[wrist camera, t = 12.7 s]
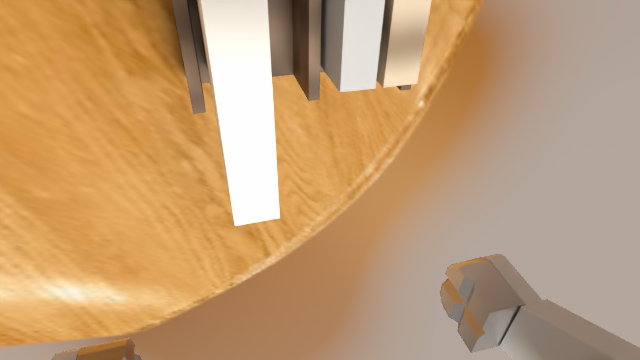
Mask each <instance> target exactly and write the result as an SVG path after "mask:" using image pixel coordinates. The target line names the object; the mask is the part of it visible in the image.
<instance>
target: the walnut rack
mask: <svg viewBox="0 0 640 360" xmlns="http://www.w3.org/2000/svg"><path fill="white" fill-rule="evenodd" d="M267 2H268V19H269V37H270V55H271V72H272V77H273V76H283V75H294V76H295V78H296V80H297V81H298V83H299V85H300V86H301V88H302V90H303V92H304V93H305V95H306V97H307V99H308V100H309V101H311V100H320V72H325V71H324V70H323V68H322V67H321V66H320V52H321V3H322V0H267ZM172 5H173V10H174V15H175V20H176V25H177V31H178V36H179V41H180V46H181V51H182V57H183V62H184V67H185V72H186V78H187V83H188V88H189V93H190V98H191V104H192V109H193V114H195V113H204V112H206V111H205V104H204V96H203V89H202V83H210V79H209V73H208V67H207V61H206V55H205V48H204V42H203V35H202V29H201V23H200V16H199V10H198V3H197V0H172ZM397 87H398V88H399V89H400V90H409V89H410V88H411V85H402V86H397Z"/></svg>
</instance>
